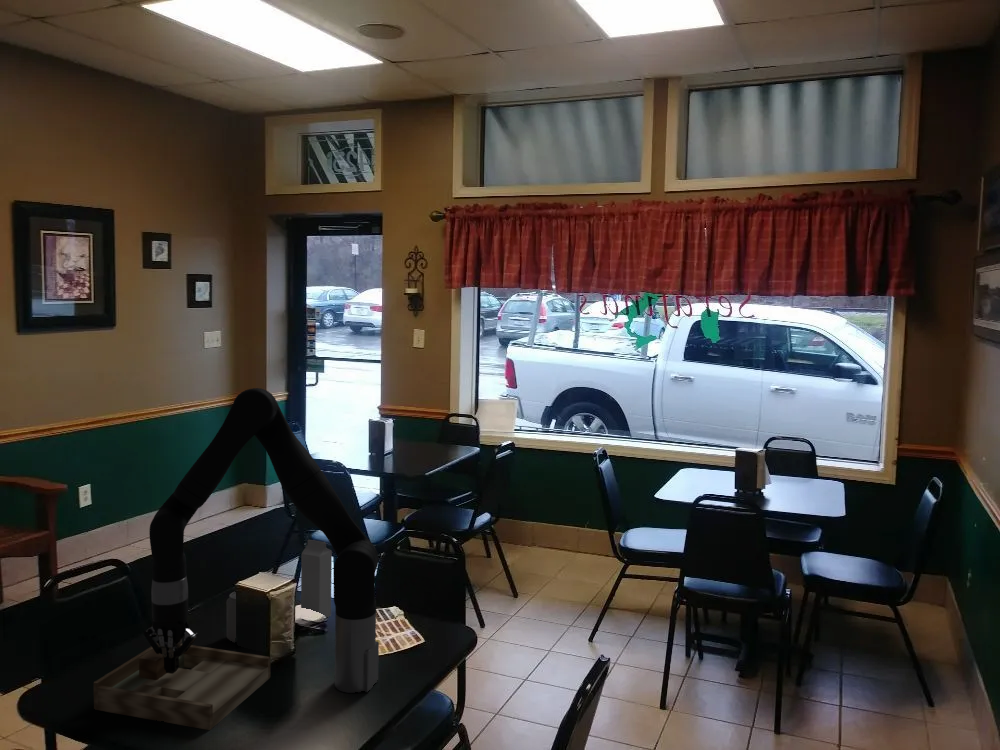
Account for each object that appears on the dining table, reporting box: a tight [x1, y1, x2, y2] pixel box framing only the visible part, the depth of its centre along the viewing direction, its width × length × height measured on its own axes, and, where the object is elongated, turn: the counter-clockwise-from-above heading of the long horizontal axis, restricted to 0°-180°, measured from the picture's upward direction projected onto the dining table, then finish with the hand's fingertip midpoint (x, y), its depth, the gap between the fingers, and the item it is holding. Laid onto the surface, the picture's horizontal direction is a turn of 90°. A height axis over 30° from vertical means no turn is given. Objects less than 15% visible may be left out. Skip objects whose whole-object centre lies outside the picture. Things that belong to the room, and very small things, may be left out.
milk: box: [300, 539, 333, 618], centre depth 222 cm, size 6×6×22 cm
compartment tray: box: [93, 642, 271, 731], centre depth 179 cm, size 28×24×6 cm
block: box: [139, 650, 166, 680], centre depth 181 cm, size 4×4×4 cm
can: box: [226, 591, 236, 644], centre depth 207 cm, size 8×8×12 cm
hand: (171, 671), depth 179 cm, fingers closed
